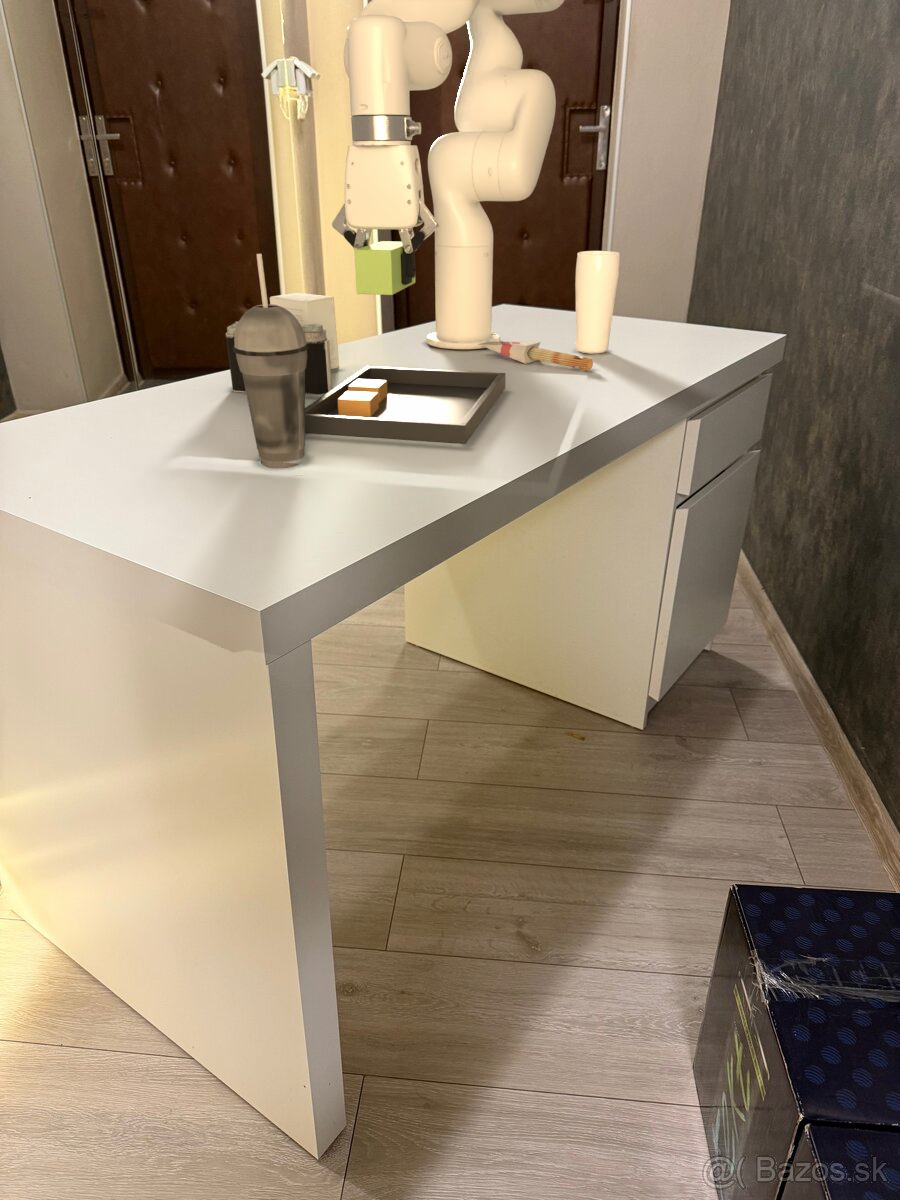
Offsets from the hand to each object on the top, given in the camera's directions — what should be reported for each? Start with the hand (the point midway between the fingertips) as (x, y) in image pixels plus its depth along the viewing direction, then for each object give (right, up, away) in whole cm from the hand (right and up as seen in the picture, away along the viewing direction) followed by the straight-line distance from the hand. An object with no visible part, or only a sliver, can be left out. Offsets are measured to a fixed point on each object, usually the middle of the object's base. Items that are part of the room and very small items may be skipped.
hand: (387, 281), depth 115 cm
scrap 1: (-2, -18, -8) cm, 20 cm away
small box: (-13, -10, +9) cm, 19 cm away
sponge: (0, -1, 0) cm, 1 cm away
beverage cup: (-9, -30, -29) cm, 42 cm away
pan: (+4, -21, -12) cm, 25 cm away
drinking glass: (+32, -4, +21) cm, 39 cm away
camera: (-15, -17, -4) cm, 23 cm away
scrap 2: (-2, -21, -14) cm, 26 cm away
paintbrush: (+22, -7, +14) cm, 27 cm away
